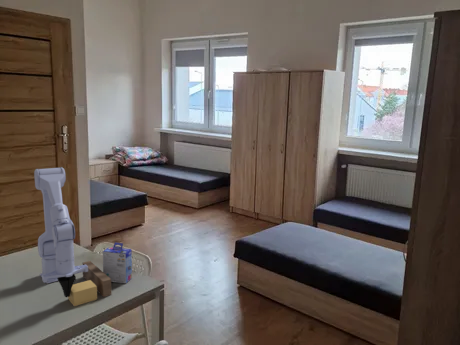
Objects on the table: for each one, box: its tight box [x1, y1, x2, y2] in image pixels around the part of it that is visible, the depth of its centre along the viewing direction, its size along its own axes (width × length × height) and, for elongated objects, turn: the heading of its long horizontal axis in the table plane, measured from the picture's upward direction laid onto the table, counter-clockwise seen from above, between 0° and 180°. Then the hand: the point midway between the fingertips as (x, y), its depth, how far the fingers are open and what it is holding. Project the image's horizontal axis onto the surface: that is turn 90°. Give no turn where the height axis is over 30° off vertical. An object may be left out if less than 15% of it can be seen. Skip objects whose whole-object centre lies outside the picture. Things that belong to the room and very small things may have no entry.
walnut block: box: [82, 260, 112, 298], centre depth 152 cm, size 20×3×6 cm, turn 40°
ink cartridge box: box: [102, 242, 133, 284], centre depth 156 cm, size 10×6×14 cm, turn 78°
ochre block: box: [67, 280, 98, 307], centre depth 141 cm, size 6×8×5 cm
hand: (66, 295), depth 138 cm, fingers closed
